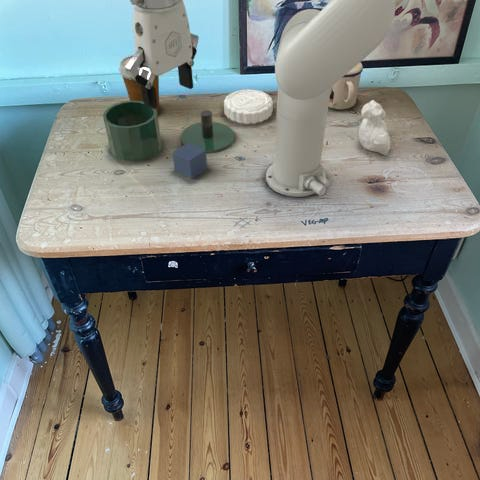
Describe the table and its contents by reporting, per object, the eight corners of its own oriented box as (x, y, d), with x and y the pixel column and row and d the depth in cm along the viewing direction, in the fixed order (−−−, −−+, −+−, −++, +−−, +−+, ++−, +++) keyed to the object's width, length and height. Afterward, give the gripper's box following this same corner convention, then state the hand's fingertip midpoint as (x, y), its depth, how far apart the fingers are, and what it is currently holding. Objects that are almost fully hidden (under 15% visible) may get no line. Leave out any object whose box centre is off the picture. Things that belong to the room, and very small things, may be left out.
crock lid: (245, 142, 113) (245, 115, 108) (201, 161, 109) (198, 133, 104) (214, 120, 120) (212, 93, 114) (171, 137, 115) (167, 110, 110)
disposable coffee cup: (119, 114, 122) (109, 64, 113) (145, 98, 127) (137, 49, 117) (148, 125, 118) (140, 75, 109) (173, 109, 123) (167, 59, 114)
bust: (361, 140, 118) (338, 107, 110) (389, 120, 114) (368, 84, 107) (376, 169, 110) (353, 135, 103) (407, 148, 107) (386, 112, 99)
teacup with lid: (316, 94, 127) (321, 47, 118) (349, 91, 128) (357, 43, 119) (330, 118, 120) (337, 69, 111) (365, 114, 121) (375, 65, 112)
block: (190, 162, 109) (188, 141, 105) (207, 170, 107) (206, 150, 103) (174, 172, 106) (172, 152, 102) (191, 181, 104) (189, 160, 100)
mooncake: (255, 96, 127) (255, 82, 124) (281, 116, 121) (282, 102, 118) (215, 109, 123) (214, 95, 120) (240, 130, 117) (240, 116, 114)
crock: (171, 151, 111) (166, 116, 105) (126, 169, 107) (119, 133, 100) (145, 130, 117) (139, 95, 111) (102, 146, 113) (93, 111, 106)
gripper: (132, 16, 75) (150, 121, 89) (208, -15, 84) (213, 85, 97) (101, 5, 78) (122, 108, 92) (176, -24, 87) (186, 74, 100)
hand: (169, 96), depth 94 cm, fingers open, 9 cm apart
